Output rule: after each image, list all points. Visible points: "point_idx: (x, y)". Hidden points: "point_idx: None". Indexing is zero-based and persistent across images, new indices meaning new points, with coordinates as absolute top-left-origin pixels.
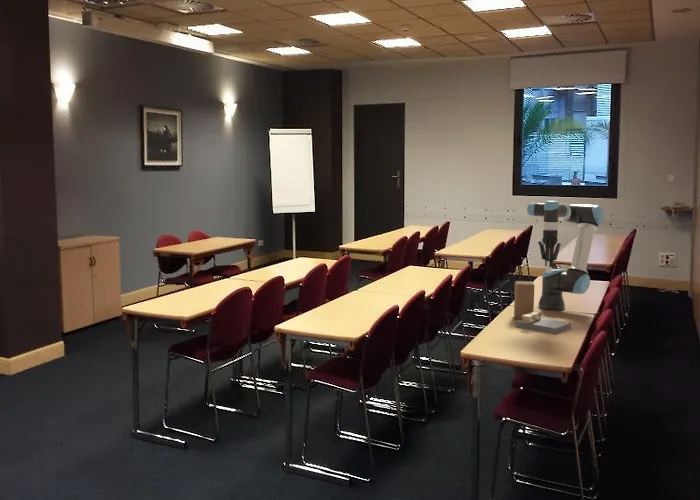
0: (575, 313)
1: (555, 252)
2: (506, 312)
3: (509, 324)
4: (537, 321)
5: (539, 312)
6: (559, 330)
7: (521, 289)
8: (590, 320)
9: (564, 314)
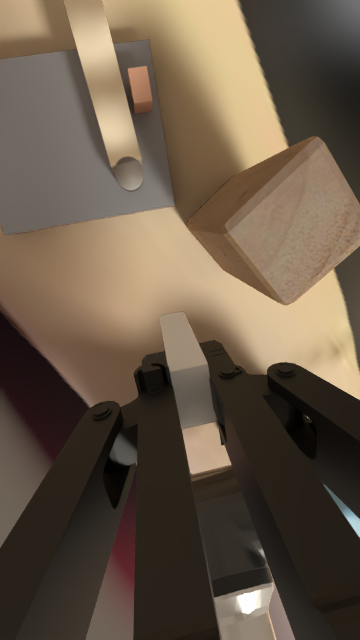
0: None
1: (19, 553)
2: None
3: (194, 70)
4: (93, 128)
5: (113, 165)
6: None
7: (270, 165)
8: (74, 385)
9: None
